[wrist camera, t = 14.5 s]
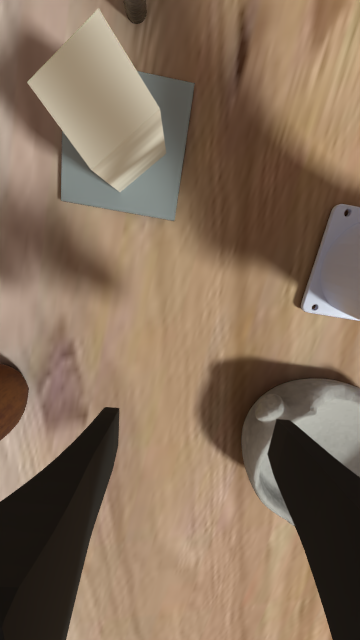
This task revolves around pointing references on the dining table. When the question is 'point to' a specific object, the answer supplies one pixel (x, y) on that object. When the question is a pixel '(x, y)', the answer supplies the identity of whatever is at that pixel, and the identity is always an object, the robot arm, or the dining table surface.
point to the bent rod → (135, 10)
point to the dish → (310, 416)
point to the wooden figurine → (11, 398)
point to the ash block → (102, 104)
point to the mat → (156, 182)
